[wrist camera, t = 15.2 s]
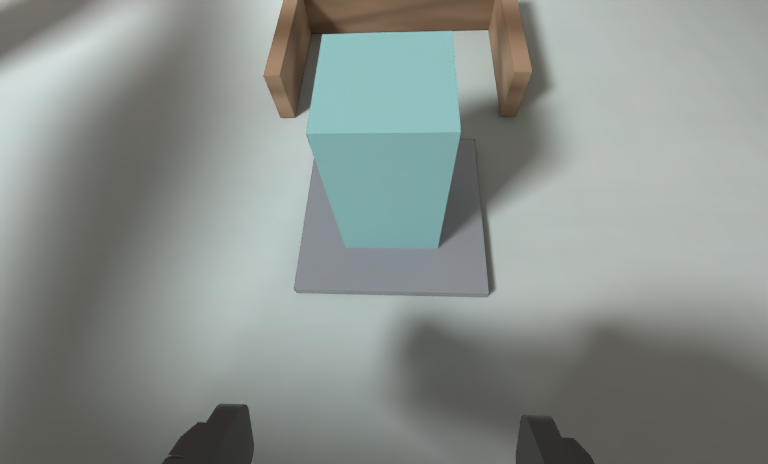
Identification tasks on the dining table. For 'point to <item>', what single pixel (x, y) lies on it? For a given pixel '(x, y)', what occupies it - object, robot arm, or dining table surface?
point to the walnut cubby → (396, 14)
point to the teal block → (386, 134)
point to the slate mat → (399, 265)
